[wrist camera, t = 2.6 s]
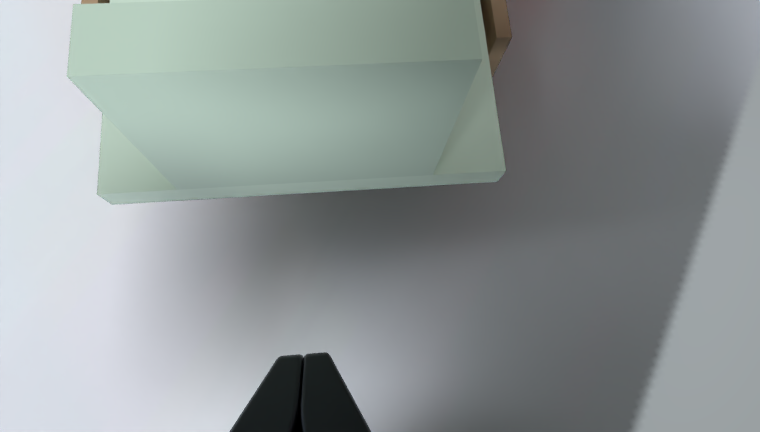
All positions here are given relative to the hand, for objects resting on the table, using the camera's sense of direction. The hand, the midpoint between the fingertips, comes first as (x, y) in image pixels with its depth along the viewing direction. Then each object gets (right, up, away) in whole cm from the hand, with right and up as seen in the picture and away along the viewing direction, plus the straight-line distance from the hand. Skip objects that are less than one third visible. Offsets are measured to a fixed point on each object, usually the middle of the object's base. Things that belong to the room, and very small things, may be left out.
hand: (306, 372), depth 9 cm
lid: (-1, +7, +6) cm, 9 cm away
